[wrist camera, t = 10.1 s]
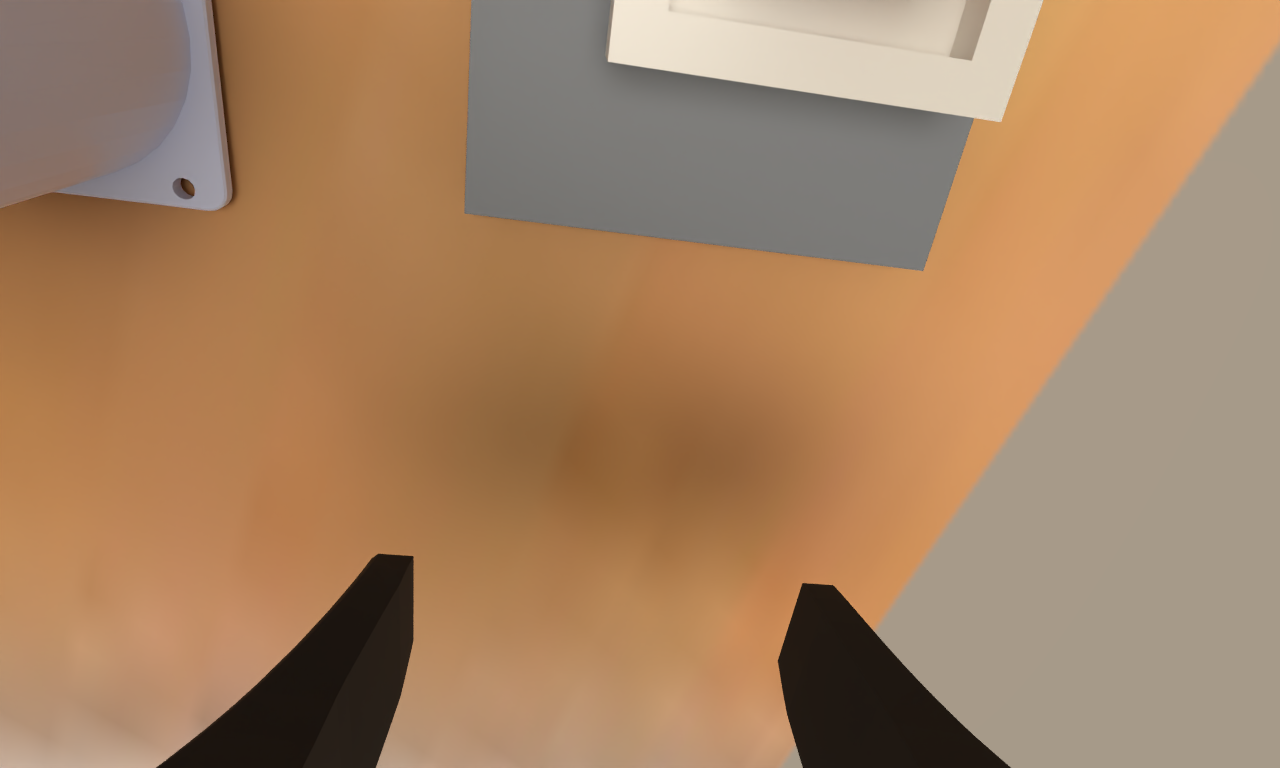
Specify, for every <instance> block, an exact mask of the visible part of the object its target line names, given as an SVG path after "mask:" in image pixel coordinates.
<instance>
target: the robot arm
mask: <svg viewBox="0 0 1280 768" xmlns="http://www.w3.org/2000/svg"><path fill="white" fill-rule="evenodd" d="M182 178H184V179H187V180H189V181H190V182H191V183H192V184H193V186H194V188H195V195H194V196H191V195H189V194H187V193H186V192H185V191H184V190H183V189H182V186H181V179H182ZM51 192H57V193H65V194H73V195H82V196H90V197H98V198H107V199H115V200H123V201H131V202H140V203H148V204H156V205H165V206H173V207H181V208H189V209H198V210H206V211H213V210H218V209H220V208H222V207H224V206H226V205H227V204H228V203H229V202H230V200H231V199H232V182H231V173H230V164H229V155H228V146H227V137H226V128H225V119H224V110H223V101H222V92H221V83H220V74H219V65H218V56H217V47H216V38H215V29H214V20H213V11H212V2H211V0H0V208H3V207H6V206H10V205H13V204H16V203H19V202H22V201H25V200H29V199H32V198H35V197H38V196H41V195H44V194H48V193H51ZM412 644H413V556H402V555H387V554H377V555H376V556H375V557H373V558H372V559H371V560H370V562H369V563H368V564H367V565H366V567H365V568H364V569H363V571H362V572H361V573H360V574H359V576H358V577H357V578H356V579H355V581H354V582H353V583H352V584H351V585H350V587H349V588H348V589H347V590H346V591H345V593H344V594H343V595H342V596H341V597H340V598H339V599H338V601H337V602H336V603H335V604H334V605H333V606H332V608H331V609H330V610H329V611H328V612H327V613H326V614H325V615H324V616H323V617H322V619H321V620H320V621H319V622H318V623H317V624H316V625H315V626H314V627H313V628H312V629H311V631H310V632H309V633H308V634H307V635H306V636H305V637H304V638H303V639H302V640H301V641H300V642H299V643H298V644H297V645H296V646H295V647H294V649H293V650H291V651H290V652H289V653H288V654H287V655H286V656H285V657H284V658H283V659H282V660H281V661H280V662H279V663H278V664H277V665H276V666H275V667H274V668H273V669H272V670H271V671H270V672H269V673H268V674H267V675H266V676H265V677H264V678H263V679H262V680H261V681H260V682H259V683H258V684H257V685H256V686H254V687H253V688H252V689H251V690H250V691H249V692H248V693H247V694H246V695H245V696H243V697H242V698H241V699H240V700H239V701H238V702H237V703H236V704H234V705H233V706H232V707H231V708H230V709H229V710H228V711H226V712H225V713H224V714H223V715H222V716H221V717H219V718H218V719H217V720H216V721H215V722H213V723H212V724H211V725H210V726H209V727H208V728H206V729H205V730H204V731H203V732H201V733H200V734H199V735H198V736H196V737H195V738H194V739H193V740H191V741H190V742H189V743H187V744H186V745H185V746H184V747H182V748H181V749H180V750H178V751H177V752H176V753H175V754H173V755H172V756H171V757H170V758H168V759H167V760H166V761H164V762H163V763H162V764H160V765H159V766H158V767H156V768H376V765H377V763H378V760H379V757H380V754H381V751H382V748H383V745H384V743H385V740H386V737H387V734H388V731H389V728H390V725H391V722H392V720H393V717H394V714H395V711H396V708H397V705H398V702H399V699H400V696H401V692H402V688H403V684H404V679H405V675H406V671H407V666H408V662H409V658H410V653H411V649H412ZM778 664H779V670H780V677H781V683H782V689H783V695H784V700H785V705H786V711H787V715H788V719H789V722H790V726H791V729H792V733H793V736H794V739H795V743H796V746H797V749H798V752H799V756H800V759H801V763H802V766H803V768H1010V767H1009V766H1008V765H1007V764H1006V763H1005V762H1004V761H1002V760H1001V759H1000V758H999V757H998V756H997V755H995V754H994V753H993V752H992V751H991V750H990V749H989V748H988V747H986V746H985V745H984V744H983V743H982V742H981V741H980V740H978V739H977V738H976V737H975V736H974V735H973V734H972V733H971V732H970V731H968V729H966V728H965V727H964V726H963V725H962V724H961V723H960V722H959V721H958V720H957V719H956V718H955V717H954V716H953V715H952V714H951V713H950V712H949V711H948V710H946V708H945V707H944V706H943V705H942V704H941V703H940V702H939V701H938V700H937V699H936V698H935V697H934V696H933V695H932V694H931V693H930V692H929V691H928V690H927V689H926V688H925V687H924V686H923V685H922V684H921V683H920V682H919V681H918V680H917V679H916V678H915V677H914V675H913V674H912V673H911V672H910V671H909V670H908V669H907V668H906V667H905V666H904V665H903V664H902V662H901V661H900V660H899V659H898V658H897V657H896V656H895V655H894V654H893V653H892V651H891V650H890V649H889V648H888V647H887V646H886V645H885V644H884V643H883V642H882V640H881V639H880V638H879V637H878V636H877V634H876V633H875V632H874V631H873V630H872V629H871V628H870V626H869V625H868V624H867V623H866V622H865V621H864V620H863V618H862V617H861V616H860V615H859V614H858V613H857V611H856V610H855V609H854V608H853V607H852V606H851V605H850V603H849V602H848V601H847V600H846V599H845V598H844V597H843V595H842V594H841V593H840V592H839V591H838V590H837V589H836V588H835V587H834V586H833V585H821V584H807V583H802V587H801V590H800V593H799V596H798V599H797V602H796V605H795V609H794V612H793V615H792V618H791V621H790V624H789V627H788V631H787V634H786V637H785V640H784V643H783V646H782V649H781V653H780V656H779V659H778Z"/></svg>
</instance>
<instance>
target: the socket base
mask: <svg viewBox="0 0 1280 768" xmlns="http://www.w3.org/2000/svg"><path fill="white" fill-rule="evenodd" d="M1042 3H1043V0H611V6H610V15H609V24H608V33H607V42H606V51H605V56H606V59H607V61H608V62H613V63H619V64H626V65H632V66H639V67H646V68H652V69H659V70H665V71H672V72H678V73H685V74H691V75H698V76H704V77H711V78H717V79H724V80H730V81H737V82H743V83H750V84H756V85H763V86H769V87H776V88H782V89H789V90H795V91H802V92H808V93H815V94H821V95H828V96H834V97H841V98H847V99H854V100H860V101H867V102H873V103H880V104H886V105H893V106H899V107H906V108H913V109H919V110H926V111H932V112H939V113H945V114H952V115H958V116H965V117H971V118H978V119H984V120H991V121H997V122H1001V120H1002V118H1003V115H1004V112H1005V109H1006V106H1007V103H1008V100H1009V97H1010V95H1011V92H1012V89H1013V86H1014V83H1015V80H1016V77H1017V75H1018V72H1019V69H1020V66H1021V63H1022V60H1023V57H1024V54H1025V52H1026V49H1027V46H1028V43H1029V40H1030V37H1031V34H1032V32H1033V29H1034V26H1035V23H1036V20H1037V17H1038V14H1039V11H1040V9H1041V6H1042Z"/></svg>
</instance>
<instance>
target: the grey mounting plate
mask: <svg viewBox="0 0 1280 768" xmlns="http://www.w3.org/2000/svg"><path fill="white" fill-rule="evenodd" d="M610 6H611V0H472V1H471V32H470V62H469V92H468V123H467V153H466V184H465V213H466V214H473V215H481V216H489V217H497V218H505V219H513V220H521V221H529V222H537V223H545V224H553V225H561V226H569V227H577V228H585V229H593V230H601V231H609V232H617V233H625V234H633V235H641V236H649V237H657V238H665V239H673V240H681V241H689V242H697V243H705V244H713V245H721V246H729V247H737V248H745V249H753V250H761V251H769V252H777V253H785V254H793V255H800V256H808V257H816V258H824V259H832V260H840V261H848V262H856V263H864V264H872V265H880V266H888V267H896V268H904V269H912V270H920V271H923V270H924V267H925V264H926V261H927V258H928V255H929V252H930V249H931V246H932V243H933V240H934V237H935V234H936V231H937V228H938V225H939V222H940V219H941V216H942V213H943V210H944V207H945V204H946V201H947V198H948V195H949V192H950V189H951V186H952V183H953V180H954V177H955V174H956V171H957V168H958V165H959V162H960V159H961V156H962V152H963V149H964V146H965V143H966V140H967V137H968V134H969V131H970V128H971V125H972V122H973V119H974V118H971V117H965V116H958V115H952V114H945V113H939V112H932V111H926V110H919V109H913V108H906V107H899V106H893V105H886V104H880V103H873V102H867V101H860V100H854V99H847V98H841V97H834V96H828V95H821V94H815V93H808V92H802V91H795V90H789V89H782V88H776V87H769V86H763V85H756V84H750V83H743V82H737V81H730V80H724V79H717V78H711V77H704V76H698V75H691V74H685V73H678V72H672V71H665V70H659V69H652V68H646V67H639V66H632V65H626V64H619V63H613V62H608V61H607V59H606V56H605V51H606V42H607V33H608V24H609V15H610Z"/></svg>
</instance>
